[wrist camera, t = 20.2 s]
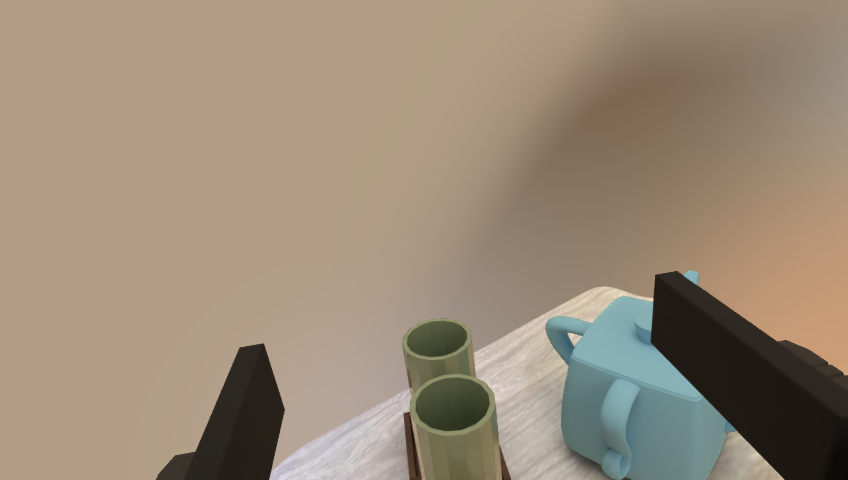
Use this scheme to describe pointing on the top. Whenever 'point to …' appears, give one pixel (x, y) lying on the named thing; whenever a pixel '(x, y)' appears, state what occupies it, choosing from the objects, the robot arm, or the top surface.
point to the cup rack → (412, 454)
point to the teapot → (633, 399)
